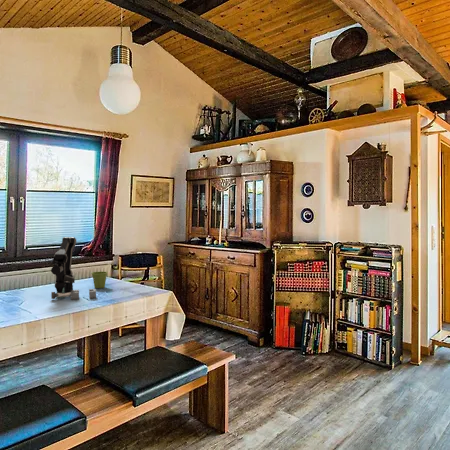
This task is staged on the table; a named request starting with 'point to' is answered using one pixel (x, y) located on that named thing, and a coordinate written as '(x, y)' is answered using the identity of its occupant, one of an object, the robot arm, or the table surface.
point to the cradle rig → (76, 294)
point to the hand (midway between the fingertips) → (60, 295)
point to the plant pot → (99, 279)
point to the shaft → (60, 295)
